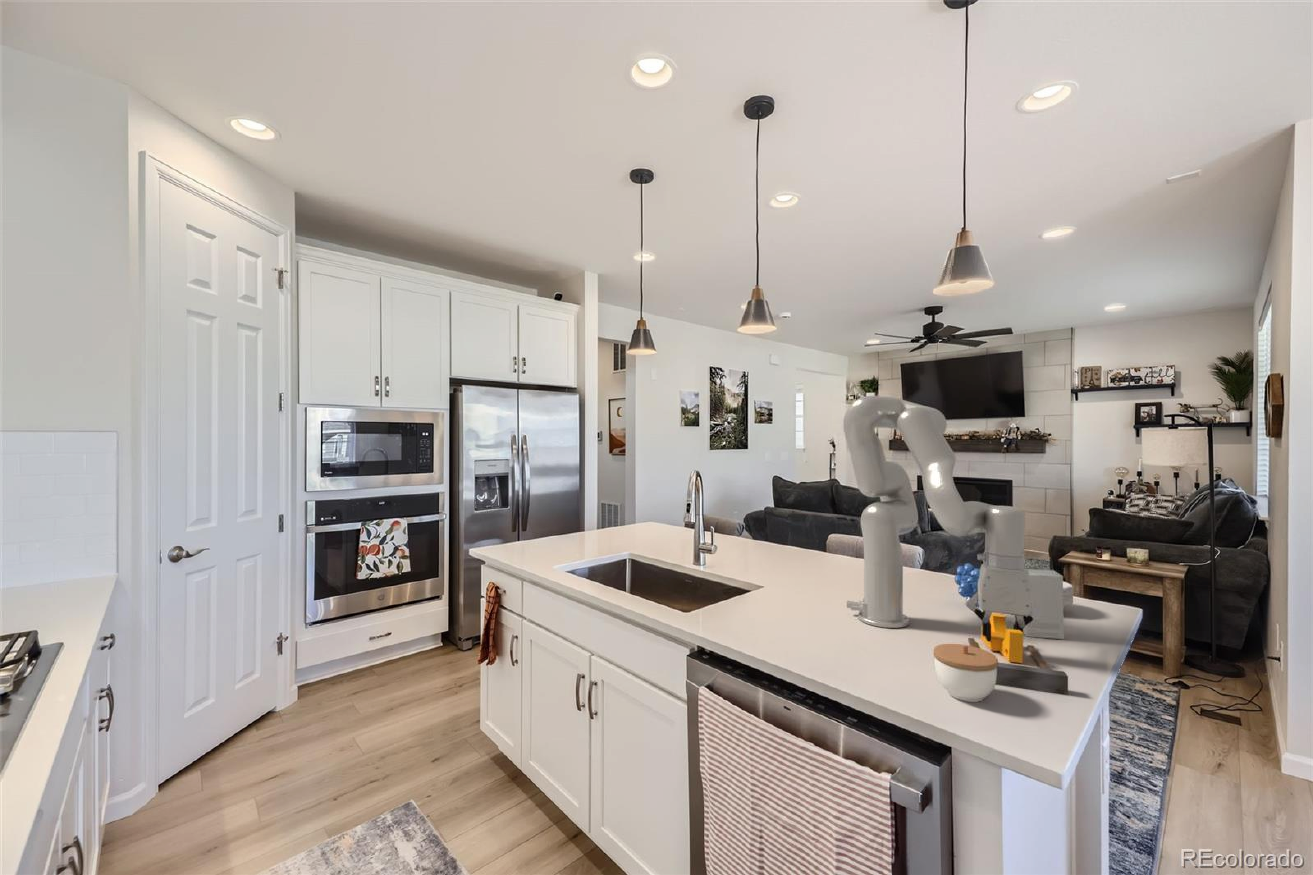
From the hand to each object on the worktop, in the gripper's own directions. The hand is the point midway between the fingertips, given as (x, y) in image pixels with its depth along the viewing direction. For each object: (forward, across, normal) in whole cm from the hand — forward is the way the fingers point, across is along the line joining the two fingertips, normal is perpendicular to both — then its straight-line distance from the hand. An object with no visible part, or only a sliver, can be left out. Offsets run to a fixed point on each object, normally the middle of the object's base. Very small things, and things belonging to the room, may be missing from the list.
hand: (1002, 640), depth 124 cm
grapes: (+4, -2, +37) cm, 37 cm away
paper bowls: (+3, +16, +42) cm, 45 cm away
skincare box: (+3, +11, +18) cm, 21 cm away
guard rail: (+3, +1, -6) cm, 7 cm away
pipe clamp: (+3, 0, +1) cm, 3 cm away
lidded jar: (+3, -10, -26) cm, 28 cm away
